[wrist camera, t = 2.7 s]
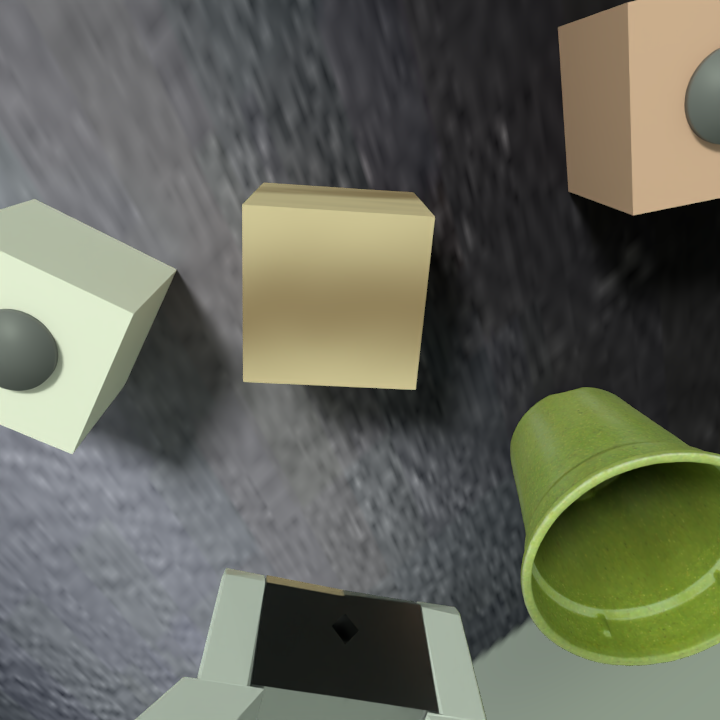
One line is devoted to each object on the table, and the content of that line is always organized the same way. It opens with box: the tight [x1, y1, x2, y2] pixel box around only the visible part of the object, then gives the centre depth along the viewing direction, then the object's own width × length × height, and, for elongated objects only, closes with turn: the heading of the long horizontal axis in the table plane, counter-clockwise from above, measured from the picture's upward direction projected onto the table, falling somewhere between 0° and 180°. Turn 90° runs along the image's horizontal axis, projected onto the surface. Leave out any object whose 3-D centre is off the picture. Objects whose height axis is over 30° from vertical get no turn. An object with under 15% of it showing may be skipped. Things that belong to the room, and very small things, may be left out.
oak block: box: [242, 183, 435, 390], centre depth 23 cm, size 6×6×6 cm
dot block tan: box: [558, 0, 720, 215], centre depth 21 cm, size 6×6×6 cm
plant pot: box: [510, 387, 720, 666], centre depth 26 cm, size 9×9×9 cm
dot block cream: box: [0, 199, 176, 454], centre depth 23 cm, size 6×6×6 cm
